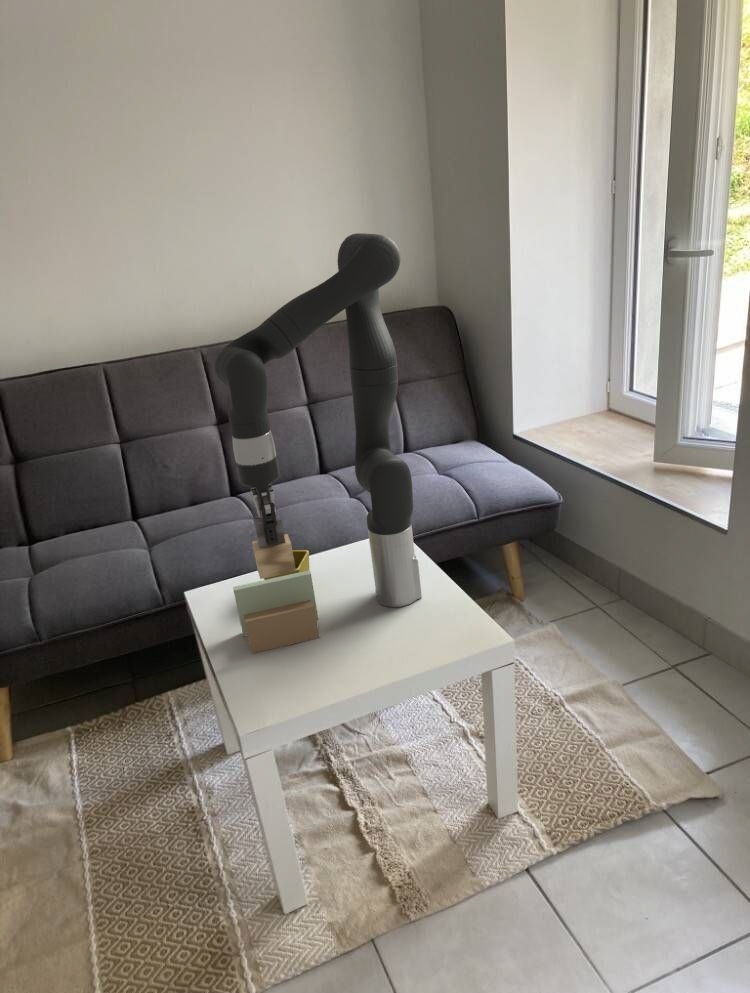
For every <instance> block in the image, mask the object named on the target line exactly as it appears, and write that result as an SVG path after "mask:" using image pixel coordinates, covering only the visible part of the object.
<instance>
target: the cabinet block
mask: <svg viewBox="0 0 750 993" xmlns="http://www.w3.org/2000/svg"><path fill="white" fill-rule="evenodd" d="M275 515H276V521H277V526H276V532H277V538H278V542H277V543H276V544H271V545H268V544H267V543H266V538H265V533H264V528H263V526H262V520H261V518H260V517H257V518H253V525H254V531H255V536H256V540H253V541H252V542H251V544H252V548H253V553H254V554H253V555H254V560H255V564H256V568H257V572H258V576H259V579H260V580H264V578H268V577H272V576H277V575H281V574H286V573H290V572H294V571H296V568H295V562H294V556H293V551H294V550H293V546H292V542H291V539H290V537H289V534H288V533H286V534H284V533H285V532H284V527H283V521H282V518H281V515H280V513H275ZM271 520H272V519H271ZM266 521H268V520H266Z"/></svg>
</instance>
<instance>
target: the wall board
mask: <svg viewBox="0 0 750 993" xmlns="http://www.w3.org/2000/svg"><path fill="white" fill-rule="evenodd" d="M232 588H233V594H234V598H235V605H236V608H237V613H238V617H239V623H240V627H241V631H242V632H241V633H242V636H243V637H246V636H247V638H248V639H247V640H248V644H249V648H250V653H251V654H255V653H259V652H263V651H268V650H272V649H276V648H280V647H286V646H289V645H292V644H293V645H294V644H298V643H301V642H303V643H304V642H306V641H311V640H315V639H319V638H320V632H319V625H318V621H317V620H319V615H318V608H317V602H316V596H315V590H314V584H313V577H312V572H311V570H310V569H309V571H304V572H300V573H295V574H290V575H286V576H281V577H277V578H272V579H267V580H264V579H262V580H260V581H255V582H249V583H245V584H242V585H241V584H240V585H236V586H232Z"/></svg>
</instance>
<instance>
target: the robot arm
mask: <svg viewBox="0 0 750 993" xmlns="http://www.w3.org/2000/svg"><path fill="white" fill-rule="evenodd" d="M400 266H401V252H400V250H399V247H398V246H397V244H396V242H394V240H392V238H390V237H388V236H385V235H383V234H377V233H359V232H358V233H351V234H350V235H348V236H346V237H345V238H344V239H343V241H342V242H341V244H340V246H339V249H338V252H337V269H338V271H337V272H336V273H335V274H333V275H332V276H330V277H329V278H327V279H326V280H325V281H322V283H320V284H318V285H317V286H315V287H313V288H310V289H309V290H307V291H305V292H302V293H301V294H299V295H298V296H296V297H294V298H293V299H291V300H289V301H288V302H286V303H285V304H284V305H282V306H281V307H280V308H278V309H277V310H276V311H275V312H273V313H272V314H271V315H270V316H269V317H267V318H266V319H265V320H264V321H263V322H261V324H260V325H259V326H256V328H254V329H251V330H250V331H248V332H246V333H244V334H242V335H241V336H239V337H238V338H236V339H233V340H232V341H231V342H229V343H228V344H227V345H226V346H224V347H223V348H222V349H221V350H220V352H218V353H217V356H216V357H215V360H214V366H213V368H214V373H215V375H216V377H217V378H218V380H220V382H222V383H224V384H226V385H228V387H229V393H230V399H231V404H230V405H229V407H228V411H227V416H228V421H229V427H230V432H231V437H232V438H231V439H232V450H233V454H234V459H235V464H236V470H237V475H238V480H239V481H238V482H239V483H240V484H241V485H243V486H244V487H245V486H246V487H250V492H251V497H252V500H253V503H254V506H255V510H256V513H257V516H258V518H261V520H262V526H263V528H264V533H265V538H266V543H267V544H268V545H271V544H276V543H277V542H278V538H277V532H276V526H277V521H276V515H275V514H277V510H276V503H275V499H276V495H275V492H274V491H275V490H274V488H273V486H272V484H271V483H273V482H276V481H277V480H278V479H279V477H280V468H279V462H278V457H277V450H276V445H275V440H274V437H273V434H272V430H271V425H270V419H269V413H268V410H267V401H268V379H267V378H268V376H267V371H266V368H265V365H266V364H267V363H268V362H270V361H272V360H277V359H278V360H279V359H282V358H285V357H286V356H288V354H290V353H291V352H292V351H294V350H295V349H296V348H297V347H298V346H300V345H301V344H302V343H303V342H305V340H306V339H308V338H309V337H311V335H312V334H314V333H315V332H316V331H318V329H320V328H321V327H322V326H324V325H325V324H327V322H329V321H330V320H331V319H333V318H335V317H336V316H337V315H338V314H340V313H341V312H343V311H344V310H345V318H346V331H347V343H348V344H347V345H348V354H349V355H348V356H349V374H350V386H351V394H352V404H353V405H352V406H353V413H354V414H353V415H354V426H355V452H354V454H355V455H354V474H355V477H356V481H357V482H358V483H359V485H360V486H361V488H362V489H364V490H365V491H367V492H368V493H369V494H370V500H371V510H370V511H369V512H368V514H367V516H366V526H367V532H368V540H369V549H370V555H371V556H370V557H371V564H372V572H373V579H374V586H375V595H376V600H377V602H378V603H379V604H381V605H382V606H385V607H390V608H400V607H405V606H408V605H410V604H413V603H414V602H415V601H417V600H419V599H422V598H423V596H422V595H423V594H422V586H421V578H420V576H421V575H420V568H419V567H420V566H419V560H418V557H417V556H416V554H415V546H414V536H413V534H414V533H413V527H412V515H413V512H414V495H413V494H414V493H413V480H412V474H411V470H410V468H409V466H408V464H407V463H406V461H405V460H403V459H401V457H398V456H397V455H395V454H393V452H392V446H391V445H392V444H391V440H390V419H391V414H392V411H393V408H394V405H395V401H396V398H397V394H398V388H399V372H398V360H397V358H398V357H397V353H396V348H395V345H394V342H393V339H392V337H391V334H390V332H389V329H388V327H387V325H386V322H385V319H384V317H383V313H382V308H381V302H380V288H382V287H384V286H385V285H386V284H388V283H390V282H391V281H392V280H393V278H394V277H395V276H396V275H397V273H398V272H399V268H400ZM251 487H252V488H251ZM271 519H272V520H271ZM266 520H268V521H266Z"/></svg>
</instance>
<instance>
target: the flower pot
mask: <svg viewBox="0 0 750 993" xmlns="http://www.w3.org/2000/svg"><path fill="white" fill-rule="evenodd" d="M292 551H293V556H294V562H295V568H296V571H294V572H290V573H286V574H281V575H277V576H272V577H268V578H264V579H263V580H267V579H272V578H277V577H281V576H286V575H290V574H295V573H300V572H304V571H309V570H310V552H309V551H310V550H307V549H303V550H302V549H301V550H292Z"/></svg>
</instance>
